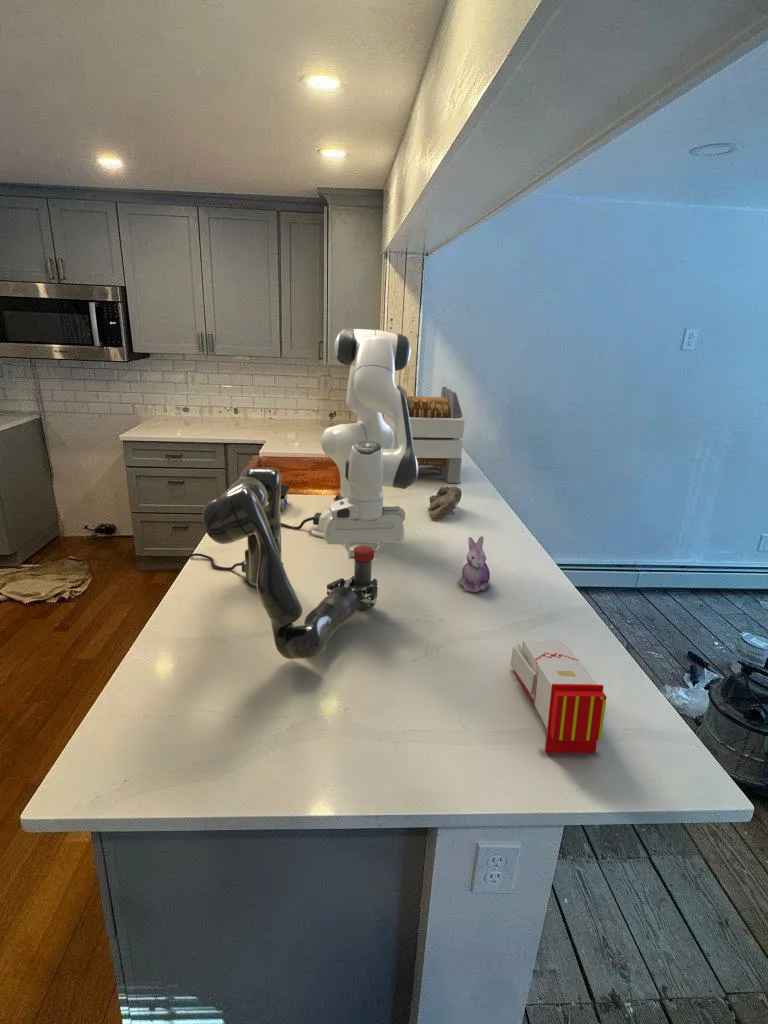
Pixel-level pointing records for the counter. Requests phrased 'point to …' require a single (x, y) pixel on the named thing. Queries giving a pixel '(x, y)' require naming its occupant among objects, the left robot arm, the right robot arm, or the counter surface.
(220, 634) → the counter surface
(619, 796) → the counter surface
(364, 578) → the cylinder
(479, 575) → the figurine
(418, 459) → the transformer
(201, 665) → the counter surface
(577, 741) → the toy
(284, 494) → the figurine character
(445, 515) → the fossil
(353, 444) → the right robot arm
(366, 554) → the lid
